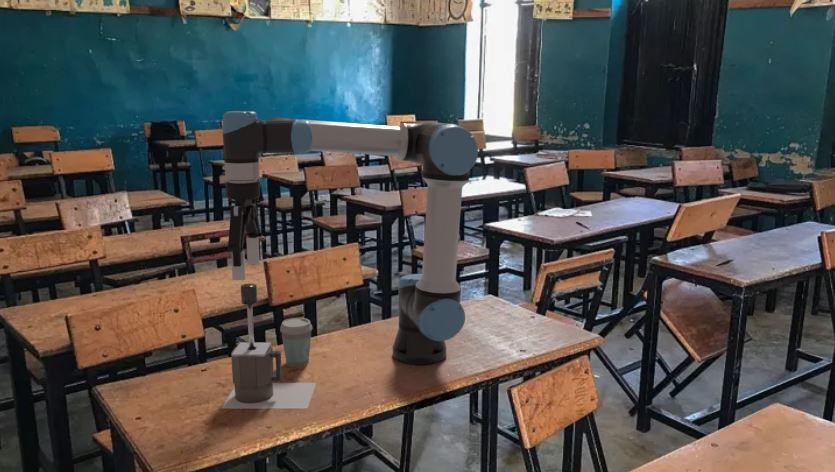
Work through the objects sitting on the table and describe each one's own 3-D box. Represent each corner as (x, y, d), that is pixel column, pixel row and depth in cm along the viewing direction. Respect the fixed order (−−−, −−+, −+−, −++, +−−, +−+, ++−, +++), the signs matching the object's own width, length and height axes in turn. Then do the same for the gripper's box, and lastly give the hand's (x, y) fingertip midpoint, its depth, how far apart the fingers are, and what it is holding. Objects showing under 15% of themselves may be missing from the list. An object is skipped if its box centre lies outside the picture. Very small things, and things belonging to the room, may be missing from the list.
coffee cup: (307, 371, 180) (305, 328, 177) (276, 369, 181) (274, 326, 179) (318, 359, 188) (316, 318, 185) (288, 357, 190) (287, 316, 187)
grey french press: (285, 387, 169) (283, 341, 167) (278, 403, 161) (276, 355, 158) (240, 387, 169) (237, 341, 167) (230, 403, 161) (227, 355, 158)
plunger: (261, 349, 164) (258, 283, 161) (257, 355, 161) (254, 288, 157) (246, 349, 164) (242, 283, 161) (242, 355, 161) (238, 288, 157)
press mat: (316, 384, 172) (316, 382, 172) (307, 410, 158) (307, 408, 158) (237, 384, 172) (237, 382, 172) (221, 410, 158) (221, 408, 158)
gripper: (240, 173, 166) (243, 258, 171) (209, 188, 142) (214, 286, 146) (270, 174, 166) (273, 258, 171) (245, 188, 142) (249, 287, 146)
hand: (246, 271), depth 158 cm, fingers open, 13 cm apart
